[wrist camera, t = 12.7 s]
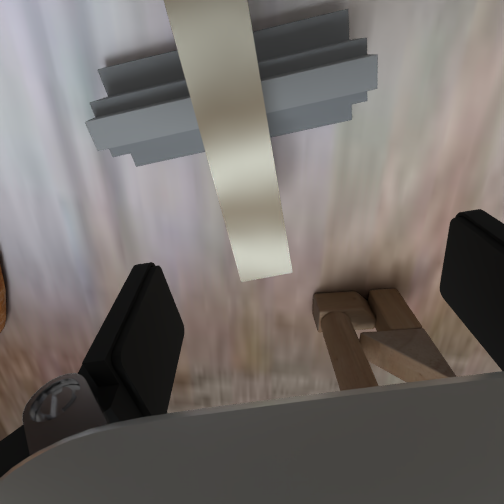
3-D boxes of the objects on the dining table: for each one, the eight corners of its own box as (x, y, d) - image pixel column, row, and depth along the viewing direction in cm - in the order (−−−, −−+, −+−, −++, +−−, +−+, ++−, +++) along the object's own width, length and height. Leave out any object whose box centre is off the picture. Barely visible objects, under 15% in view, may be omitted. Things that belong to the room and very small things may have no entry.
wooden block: (391, 308, 43) (477, 448, 28) (311, 313, 43) (353, 456, 28) (396, 286, 41) (491, 424, 26) (313, 291, 41) (358, 433, 26)
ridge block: (340, 11, 26) (377, -4, 19) (345, 116, 30) (377, 133, 23) (106, 68, 27) (62, 73, 20) (141, 160, 31) (115, 189, 25)
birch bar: (134, -151, 16) (106, -209, 12) (214, -175, 15) (207, -240, 12) (240, 254, 28) (241, 282, 25) (285, 246, 28) (292, 272, 24)
